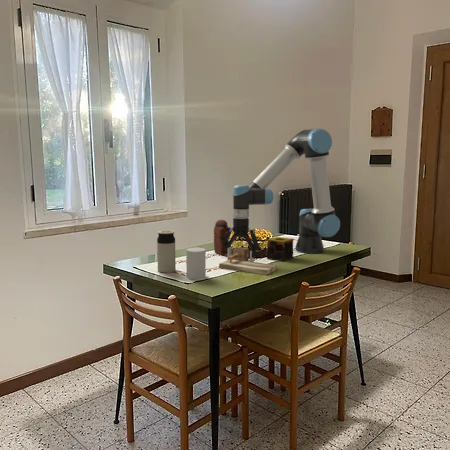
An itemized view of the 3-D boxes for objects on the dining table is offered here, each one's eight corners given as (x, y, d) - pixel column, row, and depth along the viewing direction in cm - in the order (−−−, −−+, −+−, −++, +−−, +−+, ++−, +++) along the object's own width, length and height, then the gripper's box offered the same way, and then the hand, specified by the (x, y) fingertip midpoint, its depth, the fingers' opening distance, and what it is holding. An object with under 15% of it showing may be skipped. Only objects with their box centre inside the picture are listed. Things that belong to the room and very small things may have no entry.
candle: (283, 261, 222) (284, 241, 221) (265, 258, 229) (266, 239, 227) (293, 258, 231) (294, 238, 229) (276, 255, 237) (276, 236, 235)
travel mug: (178, 269, 207) (178, 230, 204) (170, 273, 200) (170, 233, 197) (162, 267, 210) (162, 229, 207) (154, 272, 203) (153, 232, 200)
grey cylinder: (191, 273, 200) (191, 247, 198) (208, 275, 197) (208, 248, 195) (183, 278, 193) (183, 250, 191) (200, 280, 190) (200, 252, 188)
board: (230, 262, 220) (230, 258, 219) (276, 269, 208) (276, 265, 208) (219, 267, 210) (219, 263, 210) (266, 274, 199) (266, 270, 198)
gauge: (237, 261, 224) (237, 247, 223) (248, 262, 221) (248, 248, 220) (224, 267, 212) (224, 252, 211) (235, 268, 209) (235, 253, 208)
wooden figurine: (231, 255, 236) (232, 220, 233) (220, 256, 233) (220, 221, 231) (222, 250, 247) (222, 217, 244) (211, 251, 244) (211, 218, 241)
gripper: (215, 216, 219) (215, 260, 223) (260, 220, 208) (259, 267, 211) (223, 214, 226) (222, 257, 229) (267, 218, 214) (266, 263, 218)
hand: (240, 262), depth 220 cm, fingers open, 11 cm apart
